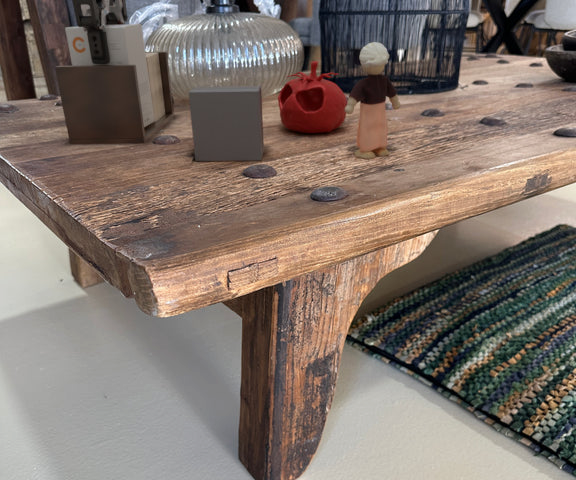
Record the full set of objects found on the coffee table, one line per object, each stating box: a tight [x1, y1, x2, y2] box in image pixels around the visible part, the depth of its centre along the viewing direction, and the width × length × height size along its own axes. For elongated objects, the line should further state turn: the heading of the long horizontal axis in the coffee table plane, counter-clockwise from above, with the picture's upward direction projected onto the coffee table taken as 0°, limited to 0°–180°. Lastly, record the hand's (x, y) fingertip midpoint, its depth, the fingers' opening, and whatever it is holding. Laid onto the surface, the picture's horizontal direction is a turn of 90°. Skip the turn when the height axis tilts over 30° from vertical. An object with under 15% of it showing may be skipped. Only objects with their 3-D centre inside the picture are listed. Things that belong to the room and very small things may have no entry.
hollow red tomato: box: [277, 60, 348, 134], centre depth 81 cm, size 10×10×9 cm
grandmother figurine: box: [345, 41, 402, 160], centre depth 66 cm, size 8×4×13 cm, turn 131°
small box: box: [64, 23, 155, 127], centre depth 77 cm, size 8×6×13 cm
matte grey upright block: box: [188, 85, 265, 162], centre depth 68 cm, size 8×4×8 cm, turn 88°
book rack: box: [54, 51, 175, 145], centre depth 81 cm, size 10×18×10 cm, turn 178°
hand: (110, 60), depth 76 cm, fingers closed on small box, 6 cm apart
